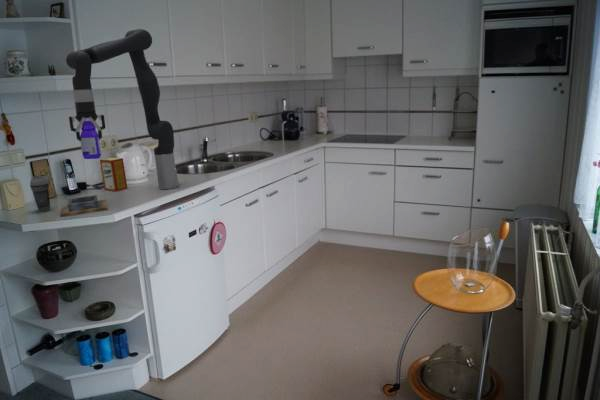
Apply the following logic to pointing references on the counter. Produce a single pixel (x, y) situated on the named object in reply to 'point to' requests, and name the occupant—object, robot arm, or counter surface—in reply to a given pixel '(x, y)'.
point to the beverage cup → (41, 192)
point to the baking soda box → (113, 174)
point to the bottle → (90, 141)
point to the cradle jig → (83, 206)
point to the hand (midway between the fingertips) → (89, 140)
